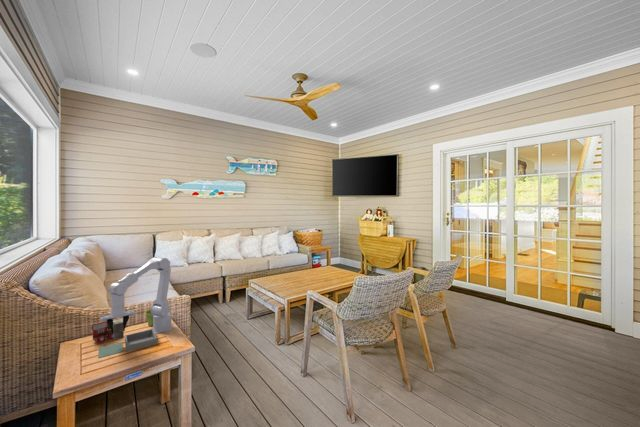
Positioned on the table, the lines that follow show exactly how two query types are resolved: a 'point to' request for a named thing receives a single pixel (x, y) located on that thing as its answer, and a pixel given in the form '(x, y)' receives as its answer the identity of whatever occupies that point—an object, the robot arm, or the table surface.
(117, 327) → the box
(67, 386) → the table surface
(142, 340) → the grey tray
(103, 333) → the toy fire truck
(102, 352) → the mat
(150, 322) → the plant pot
